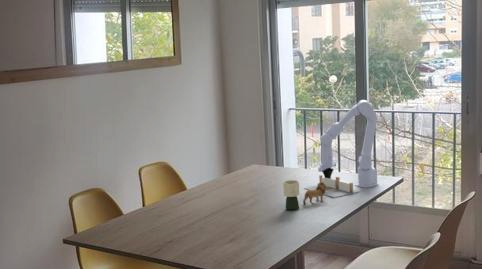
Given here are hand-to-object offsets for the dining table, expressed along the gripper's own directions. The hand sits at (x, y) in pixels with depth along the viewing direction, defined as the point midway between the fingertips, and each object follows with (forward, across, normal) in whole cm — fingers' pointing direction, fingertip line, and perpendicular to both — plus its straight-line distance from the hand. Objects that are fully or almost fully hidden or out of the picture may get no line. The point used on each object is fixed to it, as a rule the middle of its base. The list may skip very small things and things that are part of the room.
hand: (327, 182), depth 316 cm
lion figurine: (+2, +28, +10) cm, 30 cm away
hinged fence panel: (+1, +1, +1) cm, 2 cm away
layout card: (+2, +6, +6) cm, 9 cm away
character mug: (+2, +43, +7) cm, 43 cm away
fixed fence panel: (+2, +4, +12) cm, 13 cm away
